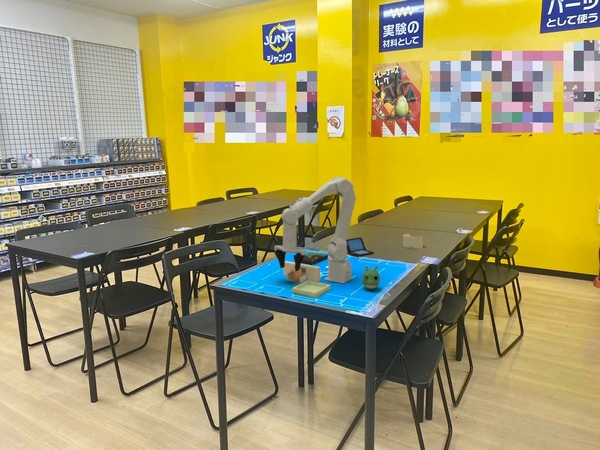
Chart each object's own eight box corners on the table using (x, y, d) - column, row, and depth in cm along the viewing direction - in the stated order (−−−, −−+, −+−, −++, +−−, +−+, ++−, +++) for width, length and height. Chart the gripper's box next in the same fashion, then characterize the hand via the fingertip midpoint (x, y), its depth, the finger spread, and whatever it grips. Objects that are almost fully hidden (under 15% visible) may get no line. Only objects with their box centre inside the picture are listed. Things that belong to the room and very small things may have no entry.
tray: (330, 289, 182) (330, 284, 182) (315, 298, 172) (315, 293, 172) (307, 284, 188) (307, 280, 188) (292, 293, 178) (292, 288, 178)
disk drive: (312, 266, 216) (328, 259, 228) (312, 261, 216) (328, 254, 228) (294, 263, 222) (311, 256, 234) (294, 257, 222) (311, 251, 234)
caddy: (303, 280, 194) (303, 268, 193) (294, 284, 189) (293, 273, 188) (294, 278, 197) (294, 267, 196) (284, 282, 191) (284, 271, 190)
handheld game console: (356, 257, 230) (357, 243, 229) (343, 253, 239) (343, 239, 238) (374, 254, 237) (375, 240, 236) (361, 250, 246) (361, 236, 245)
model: (403, 246, 255) (403, 233, 253) (422, 247, 252) (423, 234, 250) (402, 247, 252) (403, 234, 250) (422, 249, 249) (423, 235, 247)
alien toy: (361, 292, 179) (362, 268, 177) (362, 285, 186) (362, 262, 185) (379, 293, 178) (380, 268, 176) (379, 286, 185) (380, 263, 183)
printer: (320, 280, 193) (320, 267, 192) (311, 285, 188) (311, 271, 186) (285, 273, 203) (285, 261, 202) (276, 277, 197) (276, 264, 196)
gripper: (269, 237, 187) (270, 268, 190) (299, 241, 179) (299, 274, 182) (279, 234, 193) (280, 264, 196) (308, 238, 185) (308, 270, 188)
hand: (289, 269), depth 189 cm, fingers open, 7 cm apart
